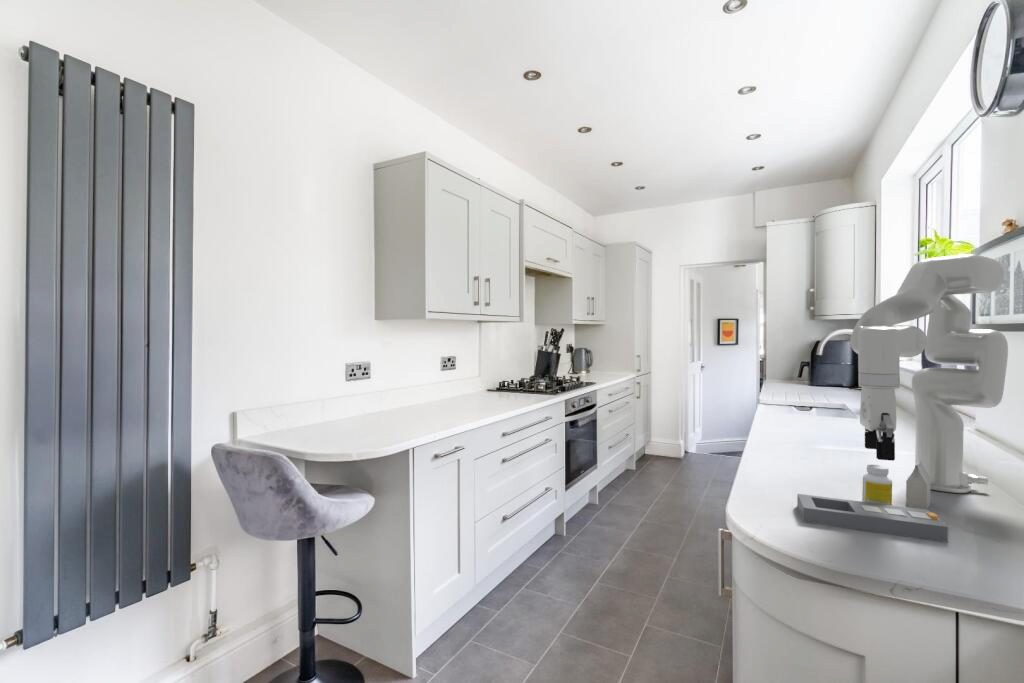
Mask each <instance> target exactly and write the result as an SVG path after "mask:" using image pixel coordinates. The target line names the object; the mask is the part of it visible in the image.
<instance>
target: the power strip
mask: <svg viewBox="0 0 1024 683" xmlns="http://www.w3.org/2000/svg"><path fill="white" fill-rule="evenodd" d="M796 497H797V499H796V500H797V501H796V502H797V504H796V507H797V509H798V511H799V513H800V517H801V518H802V521H803V522H805V523H810V524H818V525H825V526H831V527H832V526H833V527H838V528H846V529H853V530H858V531H859V530H860V531H865V532H866V531H868V532H872V533H880V534H886V535H887V534H888V535H893V534H894V535H895V536H900V537H908V538H915V539H921V540H928V541H930V540H931V541H936V542H943V543H948V542H949V526H948V525H947V524H945V523H944V522H943V521H942V520H940V519H939V516H938V515H937V514H936V513H935V512H931V511H930V510H929V509H927V510H926V509H918V508H914V507H909V506H899V505H885V504H877V503H869V502H862V500H861V501H858V500H852V499H851V500H850V499H843V498H837V497H835V498H834V497H827V496H821V495H820V496H819V495H812V494H811V495H810V494H804V493H803V494H802V493H797V496H796Z"/></svg>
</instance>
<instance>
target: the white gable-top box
mask: <svg viewBox="0 0 1024 683" xmlns="http://www.w3.org/2000/svg"><path fill="white" fill-rule="evenodd" d="M909 476H910V477H909V478H908V477H907V480H906V485H905V488H906V489H905V491H906V492H905V507H909V508H918V509H926V510H929V507H930V505H931V495H932V494H931V478H930V477H929V475H928V473H927V472H926V470H925V468H924V466H923V464H922V461H920V460H919V461H918V463H917V464H916V465H915V464H914V469H913V471H912V472H911V474H910V475H909Z"/></svg>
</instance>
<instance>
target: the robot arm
mask: <svg viewBox="0 0 1024 683" xmlns="http://www.w3.org/2000/svg"><path fill="white" fill-rule="evenodd" d="M1004 279H1005V271H1004V268H1003V266H1002V264H1001V263H1000V262H999V261H998V260H997V259H994V258H991V257H988V256H987V257H986V256H983V255H978V254H973V253H972V254H970V253H969V254H958V255H950V256H949V255H948V256H941V257H940V256H939V257H931V258H925V259H922V260H919V261H917V262H916V263H914V264H913V265H912V266H911V268H910V269H909V271H908V272H907V274H906V276H905V278H904V280H903V282H902V283H901V285H900V286H899V288H898V290H897V292H896V294H894V295H893V296H890V297H888V298H886V299H884V300H883V301H881V302H879V303H878V304H876V305H874V306H871V308H869V309H867V310H866V311H865V312H863V314H862V315H861V316H860V318H859V319H858V320H857V323H856V324H855V326H854V328H853V330H852V332H851V335H850V346H851V349H852V350H853V351H854V352H855V354H857V355H858V356H857V358H858V359H857V360H858V361H857V362H858V363H857V364H858V366H857V367H858V387H860V388H861V392H860V408H859V410H860V411H859V423H860V425H861V426H863V427H864V448H865V449H867V450H876V452H875V454H876V459H877V460H881V461H892V462H893V461H895V460H896V449H895V448H896V441H895V440H896V438H895V436H896V435H895V433H894V432H895V431H896V430H897V402H896V391H895V390H896V389H900V388H901V387H900V385H901V384H900V377H901V375H900V372H901V370H900V369H901V368H900V358H913V357H917V356H919V355H920V354H922V353H923V352H924V356H925V358H926V359H927V361H928V362H931V363H934V364H939V365H951V366H969V367H970V366H973V367H978V368H977V369H968V368H967V369H965V368H964V369H963V368H949V367H925V368H921V369H919V370H917V371H916V372H915V373H914V374H913V375H912V378H911V389H912V394H913V399H914V405H915V406H914V407H915V444H914V446H915V447H914V448H915V449H914V450H915V453H914V454H915V455H914V457H915V458H914V466H915V465H916V464H917V463H918V461H919V460H920V461H922V464H923V466H924V468H925V470H926V472H927V473H928V475H929V477H930V478H931V490H933V491H938V492H944V493H954V494H964V493H965V494H966V493H970V492H971V491H972V487H971V485H972V484H977V485H986V486H987V485H989V479H988V477H986V476H980V475H979V476H977V475H975V474H968V473H967V472H965V471H964V431H965V430H964V428H965V427H964V421H963V419H962V417H961V415H960V414H959V413H958V412H957V411H956V409H955V408H954V407H953V406H959V407H969V408H980V409H981V408H982V409H983V408H985V409H992V408H996V407H998V405H999V404H1000V403H1002V402H1001V401H1002V399H1003V396H1004V390H1005V383H1006V373H1007V366H1008V358H1009V345H1008V340H1007V338H1006V336H1005V335H1004V333H1002V332H1000V331H999V330H995V329H986V328H985V329H983V328H980V329H979V328H976V329H974V328H973V329H971V323H972V317H973V316H972V311H971V310H970V308H968V306H967V305H966V304H965V303H963V302H962V301H961V300H960V299H958V297H956V296H955V295H970V294H971V295H972V294H985V293H986V294H987V293H993V292H996V291H997V290H999V289H1000V287H1001V286H1002V285H1003V282H1004ZM926 316H928V324H927V331H926V332H924V330H923V329H922V328H920V327H918V326H914V325H910V324H909V325H908V324H906V325H904V324H902V323H907V322H910V321H911V322H912V321H914V320H918V319H920V318H923V317H926ZM900 324H901V325H900ZM909 477H910V475H908V476H907V479H908V478H909Z"/></svg>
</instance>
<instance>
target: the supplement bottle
mask: <svg viewBox="0 0 1024 683" xmlns="http://www.w3.org/2000/svg"><path fill="white" fill-rule="evenodd" d="M866 472H867V473H865V474H864V475H862V493H861V494H862V496H861V497H862V498H861V499H862V500H861V502H869V503H877V504H885V505H892V503H893V502H892V501H893V480H892V479H891V477H889V476H888V475H889V472H890V471H889V467H886V466H883V465H880V464H879V465H878V464H867V465H866Z"/></svg>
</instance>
